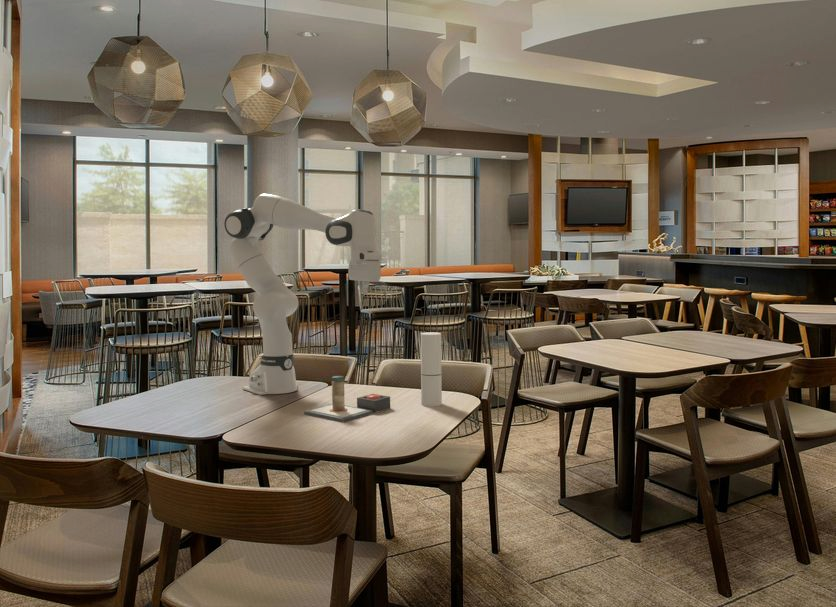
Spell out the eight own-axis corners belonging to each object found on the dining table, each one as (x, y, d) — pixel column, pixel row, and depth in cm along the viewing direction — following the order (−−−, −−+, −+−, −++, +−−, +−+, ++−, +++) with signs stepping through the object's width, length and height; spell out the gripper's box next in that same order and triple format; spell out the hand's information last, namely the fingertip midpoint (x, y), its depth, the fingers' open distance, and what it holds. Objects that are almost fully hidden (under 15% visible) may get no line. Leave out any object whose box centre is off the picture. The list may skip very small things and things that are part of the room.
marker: (329, 410, 220) (329, 377, 219) (338, 407, 223) (337, 375, 223) (338, 411, 218) (337, 378, 217) (347, 409, 221) (346, 376, 220)
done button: (364, 405, 226) (364, 396, 226) (373, 402, 230) (372, 394, 230) (374, 406, 224) (374, 398, 223) (383, 404, 227) (383, 395, 227)
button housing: (357, 409, 226) (357, 397, 226) (372, 405, 233) (372, 393, 232) (374, 412, 221) (374, 400, 221) (390, 408, 228) (390, 396, 227)
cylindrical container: (442, 401, 236) (441, 332, 234) (441, 406, 229) (440, 334, 227) (422, 401, 237) (421, 332, 235) (420, 406, 230) (419, 334, 228)
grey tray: (304, 414, 220) (304, 410, 220) (334, 406, 232) (334, 402, 231) (343, 422, 210) (343, 418, 209) (372, 413, 221) (372, 409, 221)
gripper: (343, 254, 244) (344, 292, 246) (367, 255, 227) (367, 295, 228) (359, 254, 248) (359, 291, 249) (383, 255, 230) (384, 294, 231)
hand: (363, 293), depth 238 cm, fingers closed
